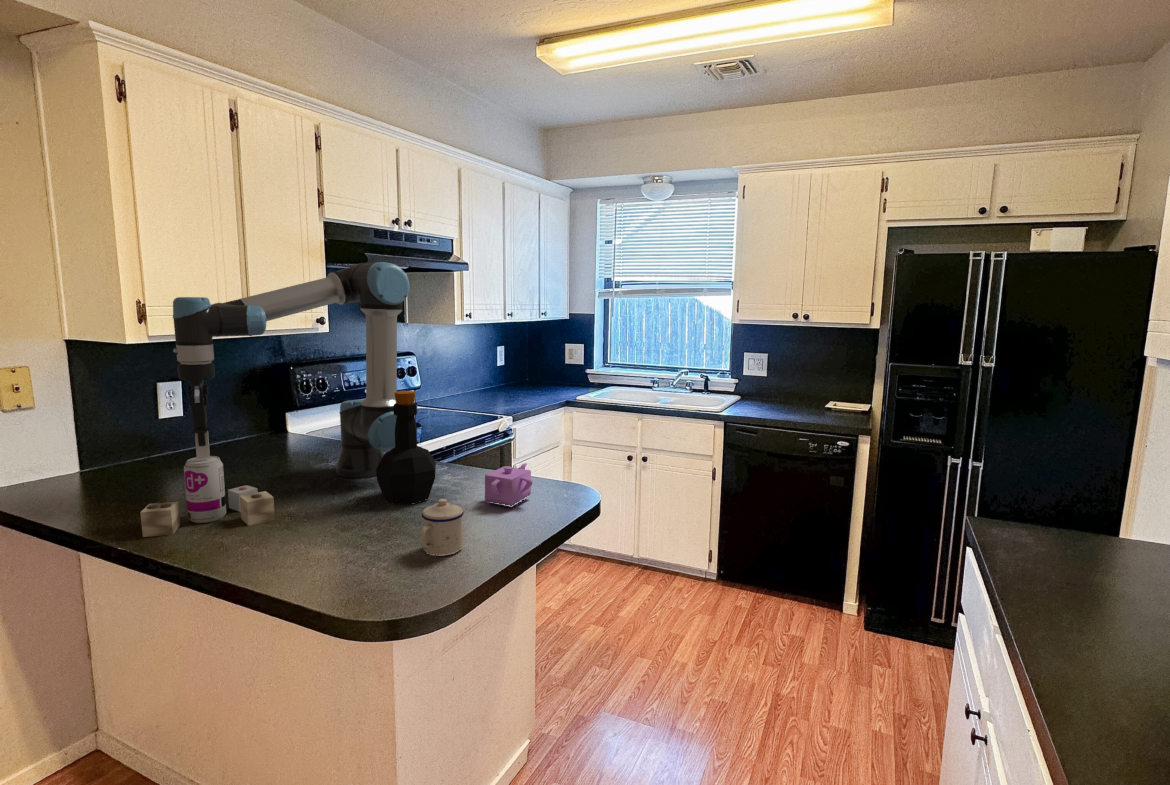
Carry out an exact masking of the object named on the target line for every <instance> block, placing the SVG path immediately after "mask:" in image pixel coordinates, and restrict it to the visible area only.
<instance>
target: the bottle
mask: <svg viewBox="0 0 1170 785" xmlns="http://www.w3.org/2000/svg"><path fill="white" fill-rule="evenodd" d="M415 399H416V391H415V390H414V391H413V390H400V391H399V390H397V392H395V400H396V403H395V404H394V405H393V407H394V415H396V416H397V418H396V425H395V447H394V448H393V449H390V450H387V451H386V452H385V453H383V454H384V456H383V457H382V459H381V461H380V463H379V465H378V467H377V469H376V481H377V483H378V486H379V489H380V491H381V494H382V497H383V499H384V502H386V501H387V502H386V503H389V502H390V504H392V505H413V504H412V503H416V502H419V501H422V500H425V499H428V500H429V498H430V496H431V492H432V489H433V487H434V486H433V485H434V483H435V480H436V472H437V471H436V470H437V469H436V467H437V465H436V464H437V463H436V460H435V459H434V457H433V455H432V454H431V452H430V451H429V449H428V448H427V449H426V448H424V447H422V446H419V445H418V427H417V420H416V416H417V414H418V402H415ZM425 501H426V500H425ZM422 502H423V501H422ZM419 503H420V502H419ZM416 504H417V503H416Z"/></svg>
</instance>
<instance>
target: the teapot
mask: <svg viewBox="0 0 1170 785" xmlns="http://www.w3.org/2000/svg"><path fill="white" fill-rule="evenodd" d="M527 465H528V463H526V462H525V463H522V464H521V465H520V467H519V468H518V467H513V466H509V465H508V466H506V465H504V466H502V467H500V468H498V469H495V470H491V471H490V472H488V473H486V474H484V502H485V501H486V502H493V503H499V504H505V505H510V506H512V505H514V504H515V503H517V502H519V501H520V500H522V499H524V498H525V497H527V496H529V495H530V494H531V495H532V493H531V491H532V490H531V489H532V486H533V480H532V471H531V470H530V469H526V466H527Z"/></svg>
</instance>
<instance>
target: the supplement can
mask: <svg viewBox="0 0 1170 785" xmlns="http://www.w3.org/2000/svg"><path fill="white" fill-rule="evenodd" d="M183 474H184V488H185V500H186V502H185V503H186V512H187V519H188V520H189V521H190V522H192V523H196V524H206V523H212V522H216V521H218V520H221V519H222V518H224V516H225V515H226V514H227V504H226V503H227V502H226V490H225V489H226V488H225V487H226V486H225V475H224V474H225V473H224V463H223V462H222V461H221V458H220V457H219V456H216V455H210V458H205V459H197V456H195V457H192V458H189V459H187V460H186V462H185V465H184V466H183Z"/></svg>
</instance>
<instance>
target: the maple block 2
mask: <svg viewBox="0 0 1170 785" xmlns="http://www.w3.org/2000/svg"><path fill="white" fill-rule="evenodd" d="M274 499H275V498H274V496H272V494H270V493H269V492H268V491H265V490H264V491H258V493H253V494H248V495H242V496H240V510H241V512H240V519H241V520H242V521H243V522H244V523H245V524H246V525H247V526H254V525H259V524H263V523H267V522H272V521H275V520H276V518H275V517H276V515H275V500H274Z"/></svg>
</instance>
